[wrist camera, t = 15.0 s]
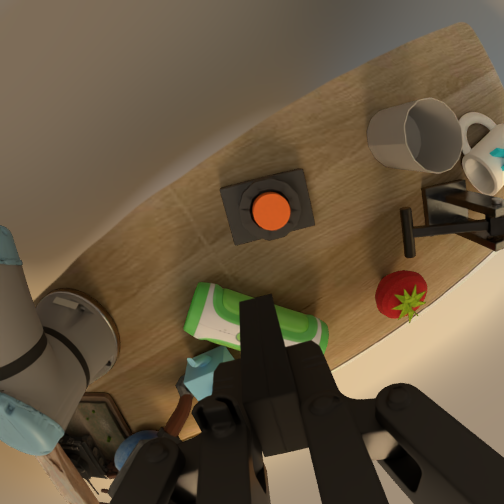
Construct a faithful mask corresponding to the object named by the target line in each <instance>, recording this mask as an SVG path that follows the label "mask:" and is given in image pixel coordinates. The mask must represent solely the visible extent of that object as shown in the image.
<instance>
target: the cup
mask: <svg viewBox="0 0 504 504" xmlns="http://www.w3.org/2000/svg"><path fill="white" fill-rule="evenodd" d="M367 139H368V146H369V148H370V150H371V152H372V154H373V155H374V157H375V159H377V160H378V161H379V162H380V163H382V164H383V165H384V166H385V167H390V168H395V169H403V170H412V171H420V172H428V173H436V174H440V173H443V172H446V171H448V170H451V169H452V168H453V166H454V165H455V164H456V163H457V161H458V160H459V159H460V155H461V151H462V147H463V137H462V128H461V126H460V124H459V121H458V119H457V117H456V115H455V113H454V112H453V111H452V110H451V109H450V108H449V107H448V106H447V105H446V104H445V103H444V102H442V101H439V100H437V99H434V98H431V97H430V98H425V99H420V100H416V101H412V102H408V103H405V104H401V105H397V106H394V107H390V108H387V109H383V110H380V111H378V112H377V113H376V114H375V115H374V116H373V117H372V118H371V120H370V123H369V126H368V129H367Z"/></svg>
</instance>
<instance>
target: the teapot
mask: <svg viewBox="0 0 504 504" xmlns="http://www.w3.org/2000/svg"><path fill="white" fill-rule="evenodd" d="M231 360H235V359H234V358H233V356H232V355H231V354H230V352H229V351H228V349H227V348H226V346H223V345H221V346H219V347H217V348H214V349H212V350H210V351H208V352H205V353H203V354H201V355H198V356H196V357H194V358H187V361H188V363H187V367H186V372H185V377H184V382H183V383H184V384H185V386H186V387H187V388H188V389H189V391H190V392H191V393H192V394H193V395H194V396H195V398H196V399H197V400H198V401H200V400H201V399H203V398H205V397H207V396H210V395H212V391H213V390H212V385H213V373H214V371H215V369H216V368H217V366H218V365H219V363H222V362H227V361H231Z"/></svg>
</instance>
